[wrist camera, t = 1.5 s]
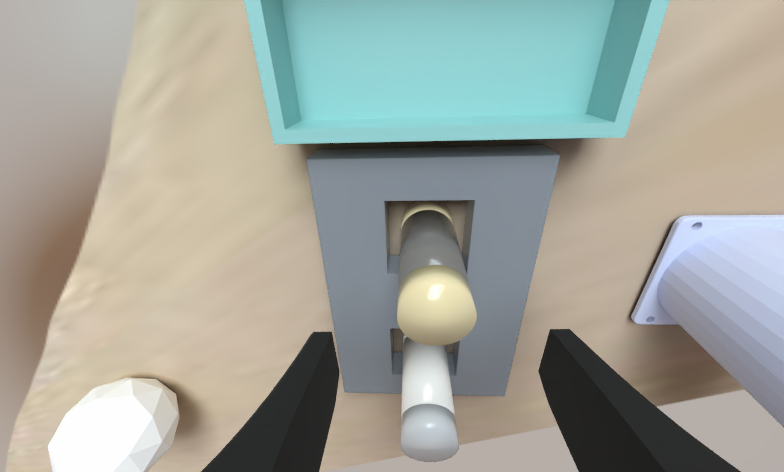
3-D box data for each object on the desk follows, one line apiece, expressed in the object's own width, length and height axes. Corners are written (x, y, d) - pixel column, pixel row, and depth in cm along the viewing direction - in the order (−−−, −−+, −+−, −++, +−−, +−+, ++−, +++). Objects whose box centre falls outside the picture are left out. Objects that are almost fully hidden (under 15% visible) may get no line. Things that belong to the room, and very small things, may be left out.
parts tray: (648, -98, 12) (715, -142, 9) (589, 124, 16) (624, 137, 13) (259, -75, 13) (221, -110, 10) (295, 130, 17) (274, 144, 14)
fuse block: (544, 145, 16) (560, 155, 15) (497, 372, 25) (504, 396, 23) (316, 149, 17) (306, 159, 15) (349, 369, 26) (344, 392, 24)
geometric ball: (159, 368, 31) (50, 433, 26) (148, 346, 25) (4, 424, 20) (199, 434, 30) (93, 516, 25) (197, 427, 24) (57, 533, 19)
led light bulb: (453, 199, 18) (480, 287, 11) (449, 244, 20) (472, 346, 13) (400, 199, 18) (396, 286, 11) (401, 244, 20) (397, 345, 13)
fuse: (444, 316, 23) (461, 431, 16) (442, 345, 24) (456, 462, 17) (402, 315, 23) (400, 429, 16) (403, 345, 24) (401, 460, 17)
